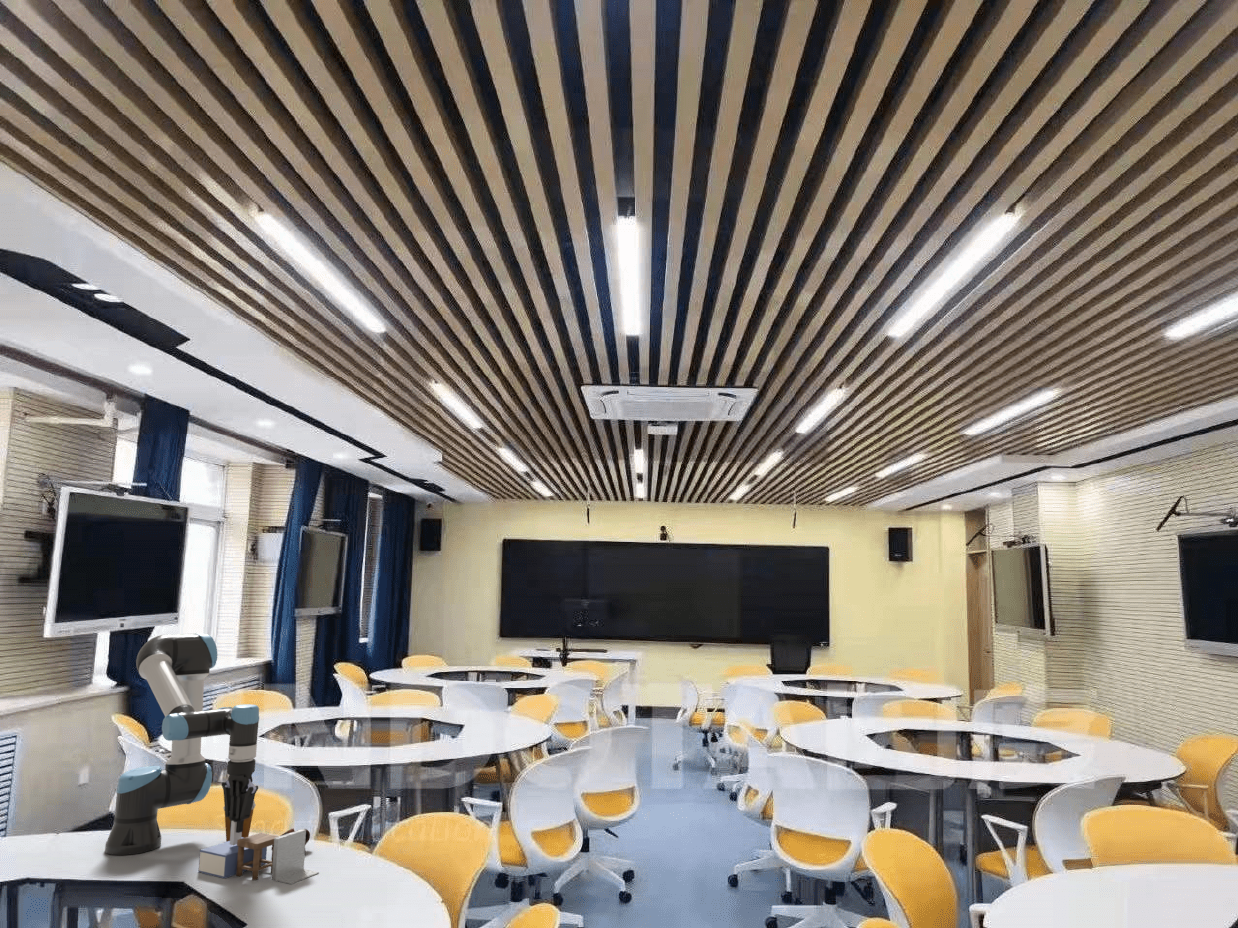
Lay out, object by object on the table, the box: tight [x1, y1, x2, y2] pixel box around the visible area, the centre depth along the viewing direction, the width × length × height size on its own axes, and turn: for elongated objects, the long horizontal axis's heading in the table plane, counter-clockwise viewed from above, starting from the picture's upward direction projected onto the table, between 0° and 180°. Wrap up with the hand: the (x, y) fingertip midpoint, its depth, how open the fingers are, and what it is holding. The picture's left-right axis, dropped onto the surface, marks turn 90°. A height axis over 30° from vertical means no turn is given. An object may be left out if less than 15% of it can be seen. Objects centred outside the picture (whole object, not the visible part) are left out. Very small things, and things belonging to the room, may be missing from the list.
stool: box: [235, 832, 280, 881], centre depth 239 cm, size 10×8×8 cm
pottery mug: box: [270, 828, 311, 853], centre depth 258 cm, size 12×10×8 cm
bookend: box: [271, 828, 320, 885], centre depth 237 cm, size 8×10×11 cm
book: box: [198, 837, 268, 879], centre depth 243 cm, size 11×14×6 cm
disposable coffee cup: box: [223, 800, 256, 842], centre depth 269 cm, size 10×10×12 cm
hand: (235, 843), depth 244 cm, fingers closed
